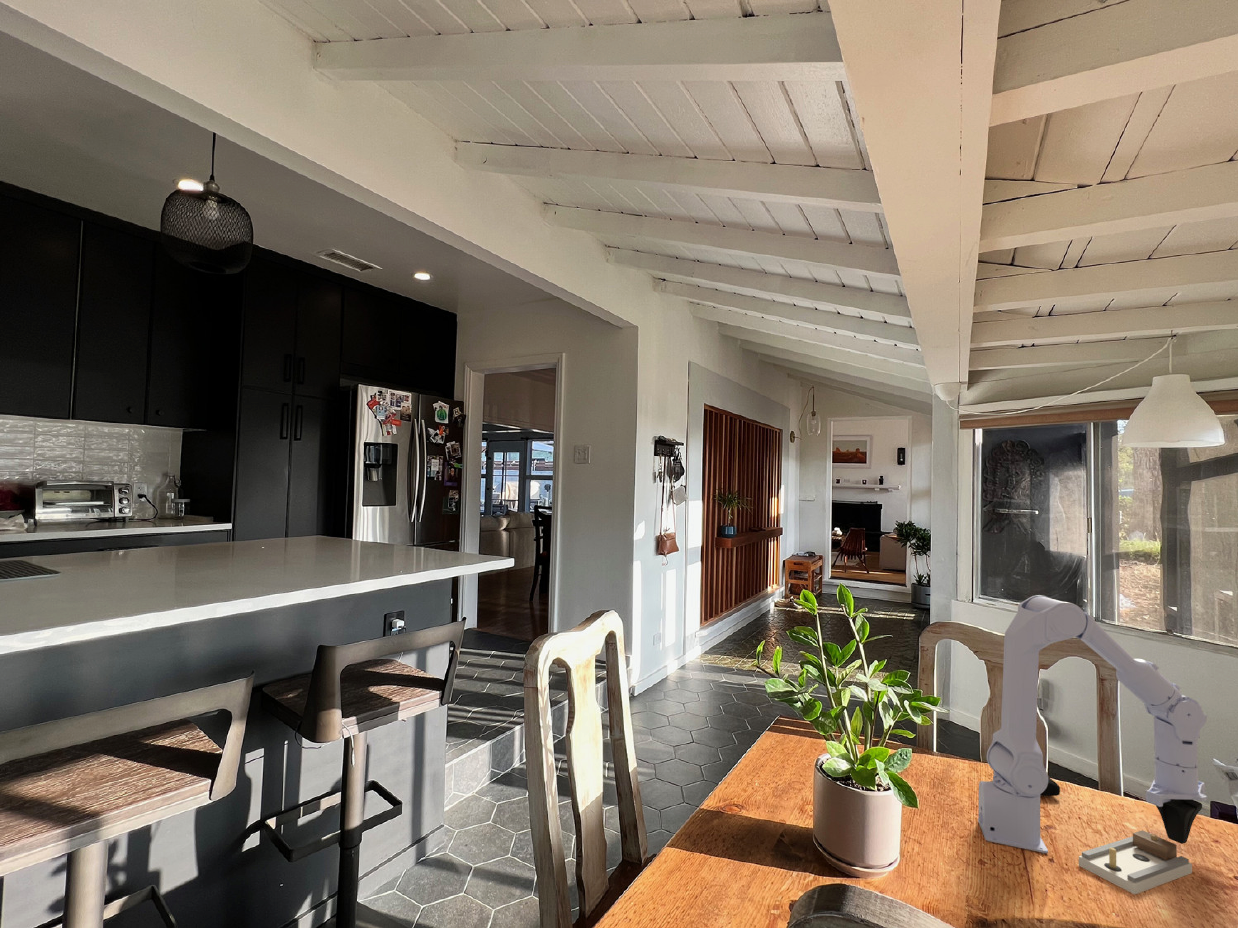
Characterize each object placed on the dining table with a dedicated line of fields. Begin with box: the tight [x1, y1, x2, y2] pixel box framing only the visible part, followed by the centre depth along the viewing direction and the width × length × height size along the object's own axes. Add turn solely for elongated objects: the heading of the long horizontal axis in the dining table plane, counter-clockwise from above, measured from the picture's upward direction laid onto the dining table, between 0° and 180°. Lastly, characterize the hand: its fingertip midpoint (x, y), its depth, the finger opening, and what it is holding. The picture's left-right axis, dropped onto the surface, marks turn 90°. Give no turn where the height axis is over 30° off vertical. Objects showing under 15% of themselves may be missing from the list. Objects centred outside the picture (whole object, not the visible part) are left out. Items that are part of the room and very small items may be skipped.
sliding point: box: [1132, 830, 1178, 860], centre depth 104 cm, size 3×5×2 cm, turn 23°
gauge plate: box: [1078, 835, 1193, 895], centre depth 102 cm, size 16×8×4 cm, turn 113°
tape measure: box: [1040, 776, 1061, 797], centre depth 129 cm, size 7×7×4 cm
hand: (1177, 840), depth 107 cm, fingers closed
